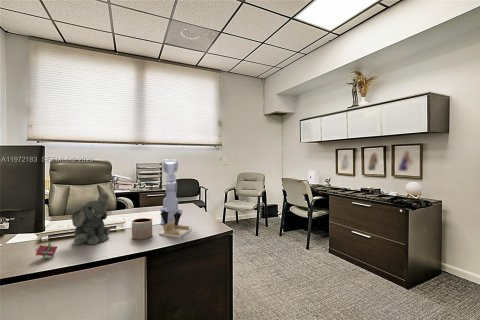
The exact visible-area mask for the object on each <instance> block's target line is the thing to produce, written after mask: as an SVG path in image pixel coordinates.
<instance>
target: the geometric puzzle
mask: <svg viewBox="0 0 480 320" xmlns="http://www.w3.org/2000/svg"><path fill="white" fill-rule="evenodd" d="M57 249H58V246H57V245H55V246H54V245H53V244H52V243H51V242H50V241H49V242H48V243H44V245H42V244H41V245H39V246H37V247H36V249H35V256H37V257H39V258H40V259H41V257H43V258H42V259H43V260H45V259H46V258H47V257H50V256H51V257H54V256H55V254H56V251H57Z"/></svg>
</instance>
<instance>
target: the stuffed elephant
mask: <svg viewBox="0 0 480 320" xmlns="http://www.w3.org/2000/svg"><path fill="white" fill-rule="evenodd" d="M108 200H109V194H108V193H107V192H102V193H101V194H99V196H98V198H97V200H91V201H88V202H86V204H84V205H80V206H78V207H75V208H72V210H71V215H70V216H71V221H72V226H73V227H74V228H75V230H74V231H73V232H74V234H73V235H74V238H73V239H74V240H73V242H74V243H75V244H76V245H83V244H85V243H86V244H88V245H95V244H97V243H98V242H99V243H101V242H105V241H106V240H107V239H108V237H109V235H110V232H111V228H110V227H109V226H107V227H105V222H104V221H105V220H106V219H107V217H108V212H107V209H108V206H106V203H107V201H108Z"/></svg>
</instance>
